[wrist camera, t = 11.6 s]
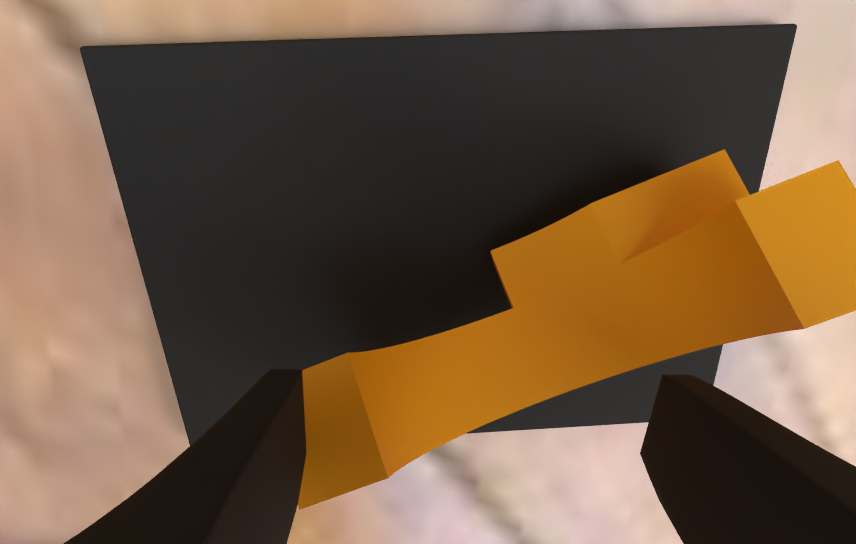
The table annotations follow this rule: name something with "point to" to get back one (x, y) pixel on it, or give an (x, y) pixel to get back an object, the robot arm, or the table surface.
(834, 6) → the table surface
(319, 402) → the pipe clamp
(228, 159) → the mat
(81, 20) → the table surface
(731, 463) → the robot arm
